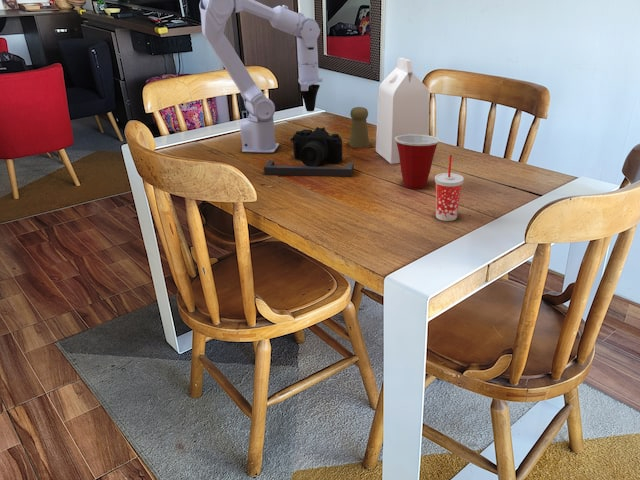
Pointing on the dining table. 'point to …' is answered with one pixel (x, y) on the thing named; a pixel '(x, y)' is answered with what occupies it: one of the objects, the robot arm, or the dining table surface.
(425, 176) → the plastic cup
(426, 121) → the milk
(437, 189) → the beverage cup
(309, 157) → the film camera
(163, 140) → the dining table surface
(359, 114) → the cork
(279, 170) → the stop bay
